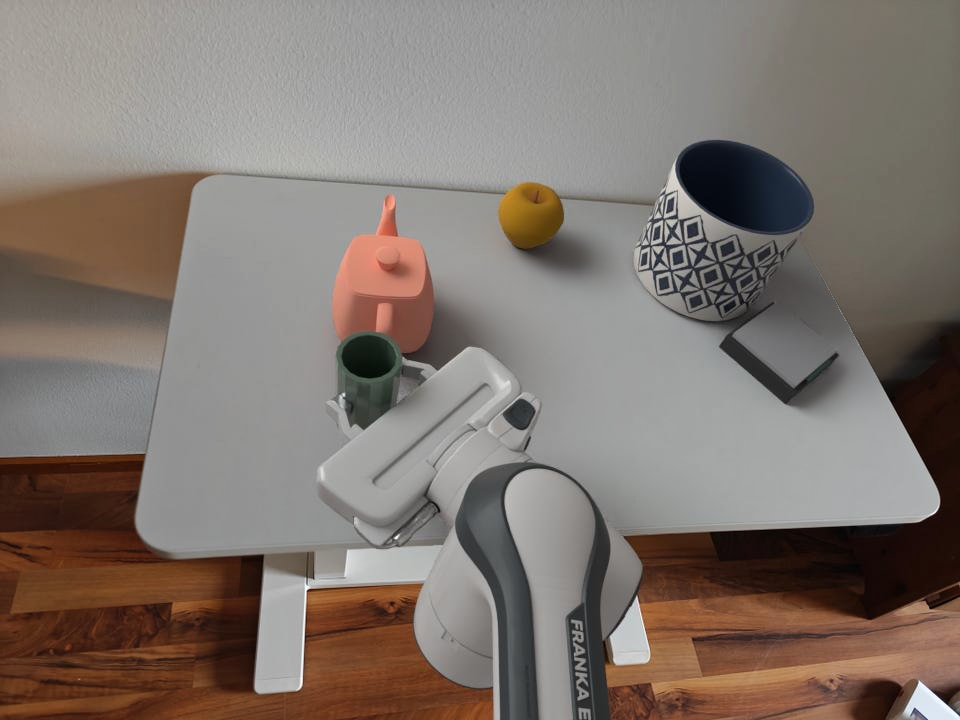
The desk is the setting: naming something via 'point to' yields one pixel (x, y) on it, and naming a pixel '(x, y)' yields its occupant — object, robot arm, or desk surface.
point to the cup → (368, 375)
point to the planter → (721, 229)
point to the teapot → (385, 286)
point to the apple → (530, 214)
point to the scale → (779, 351)
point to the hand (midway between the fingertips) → (361, 379)
